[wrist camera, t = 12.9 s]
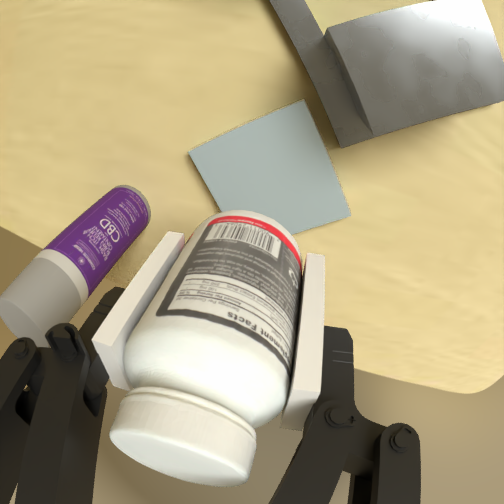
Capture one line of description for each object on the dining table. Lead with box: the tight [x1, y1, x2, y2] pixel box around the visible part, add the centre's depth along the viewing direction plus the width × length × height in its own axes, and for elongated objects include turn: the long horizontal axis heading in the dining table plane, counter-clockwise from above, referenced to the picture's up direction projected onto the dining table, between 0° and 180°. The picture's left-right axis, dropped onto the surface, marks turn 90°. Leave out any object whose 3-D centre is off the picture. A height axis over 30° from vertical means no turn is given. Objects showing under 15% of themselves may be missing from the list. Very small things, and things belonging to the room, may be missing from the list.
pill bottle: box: [110, 210, 303, 487], centre depth 11 cm, size 5×5×10 cm
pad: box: [188, 99, 351, 235], centre depth 23 cm, size 9×9×1 cm
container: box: [0, 185, 151, 348], centre depth 21 cm, size 5×5×15 cm
